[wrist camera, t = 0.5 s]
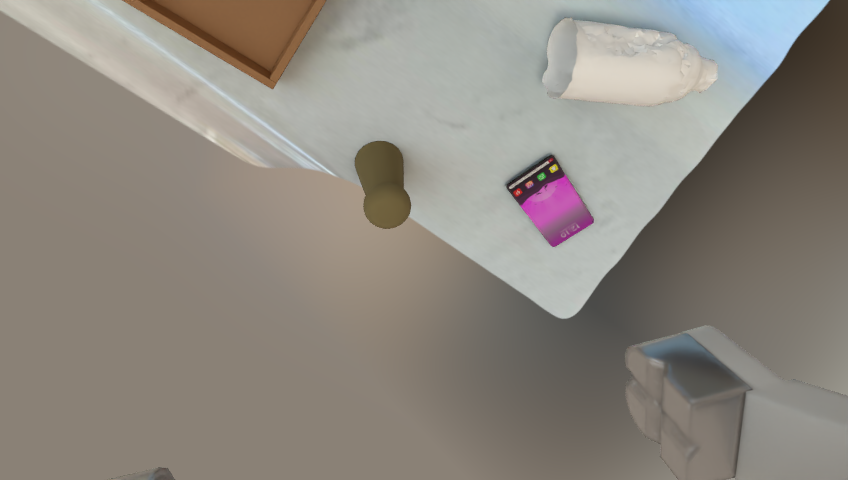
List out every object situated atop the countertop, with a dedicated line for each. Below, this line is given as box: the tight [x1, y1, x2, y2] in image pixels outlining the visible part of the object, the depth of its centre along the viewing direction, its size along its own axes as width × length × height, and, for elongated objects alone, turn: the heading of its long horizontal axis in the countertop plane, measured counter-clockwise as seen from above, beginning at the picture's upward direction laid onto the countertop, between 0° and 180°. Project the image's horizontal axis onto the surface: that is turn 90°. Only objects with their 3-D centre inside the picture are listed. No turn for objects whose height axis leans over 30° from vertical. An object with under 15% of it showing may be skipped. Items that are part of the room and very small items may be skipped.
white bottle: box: [542, 17, 718, 106], centre depth 54 cm, size 8×19×8 cm, turn 81°
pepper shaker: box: [355, 141, 411, 229], centre depth 56 cm, size 6×6×11 cm
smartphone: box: [506, 155, 594, 247], centre depth 69 cm, size 7×15×1 cm, turn 36°
